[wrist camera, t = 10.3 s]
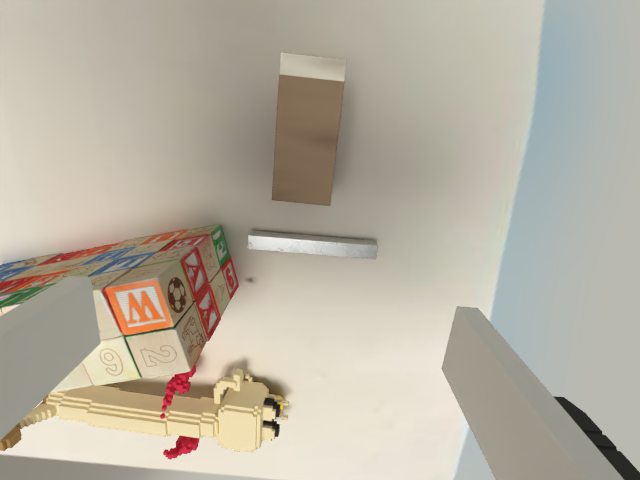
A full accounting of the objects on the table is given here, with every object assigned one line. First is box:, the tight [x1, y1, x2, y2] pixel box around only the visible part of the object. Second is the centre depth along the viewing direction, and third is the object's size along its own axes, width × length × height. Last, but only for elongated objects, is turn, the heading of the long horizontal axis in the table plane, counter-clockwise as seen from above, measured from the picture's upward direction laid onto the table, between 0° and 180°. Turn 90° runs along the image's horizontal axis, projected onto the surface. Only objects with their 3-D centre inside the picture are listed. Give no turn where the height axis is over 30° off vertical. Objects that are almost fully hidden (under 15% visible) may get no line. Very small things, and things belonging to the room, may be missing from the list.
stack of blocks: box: [0, 225, 238, 393], centre depth 25 cm, size 21×6×12 cm, turn 101°
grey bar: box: [248, 230, 378, 259], centre depth 29 cm, size 1×11×2 cm, turn 86°
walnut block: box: [272, 53, 347, 206], centre depth 24 cm, size 6×4×9 cm
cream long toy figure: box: [0, 365, 289, 459], centre depth 31 cm, size 10×9×25 cm
